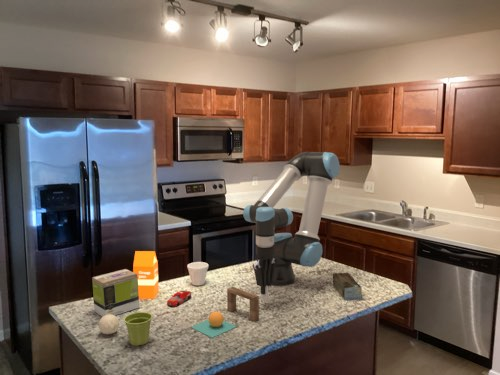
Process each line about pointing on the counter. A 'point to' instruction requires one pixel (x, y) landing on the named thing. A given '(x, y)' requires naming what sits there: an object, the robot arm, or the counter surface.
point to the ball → (216, 319)
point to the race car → (179, 298)
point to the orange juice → (146, 273)
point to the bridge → (252, 297)
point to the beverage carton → (347, 286)
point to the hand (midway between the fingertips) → (265, 300)
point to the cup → (197, 272)
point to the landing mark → (213, 328)
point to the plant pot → (138, 327)
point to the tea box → (115, 292)
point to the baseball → (108, 324)
